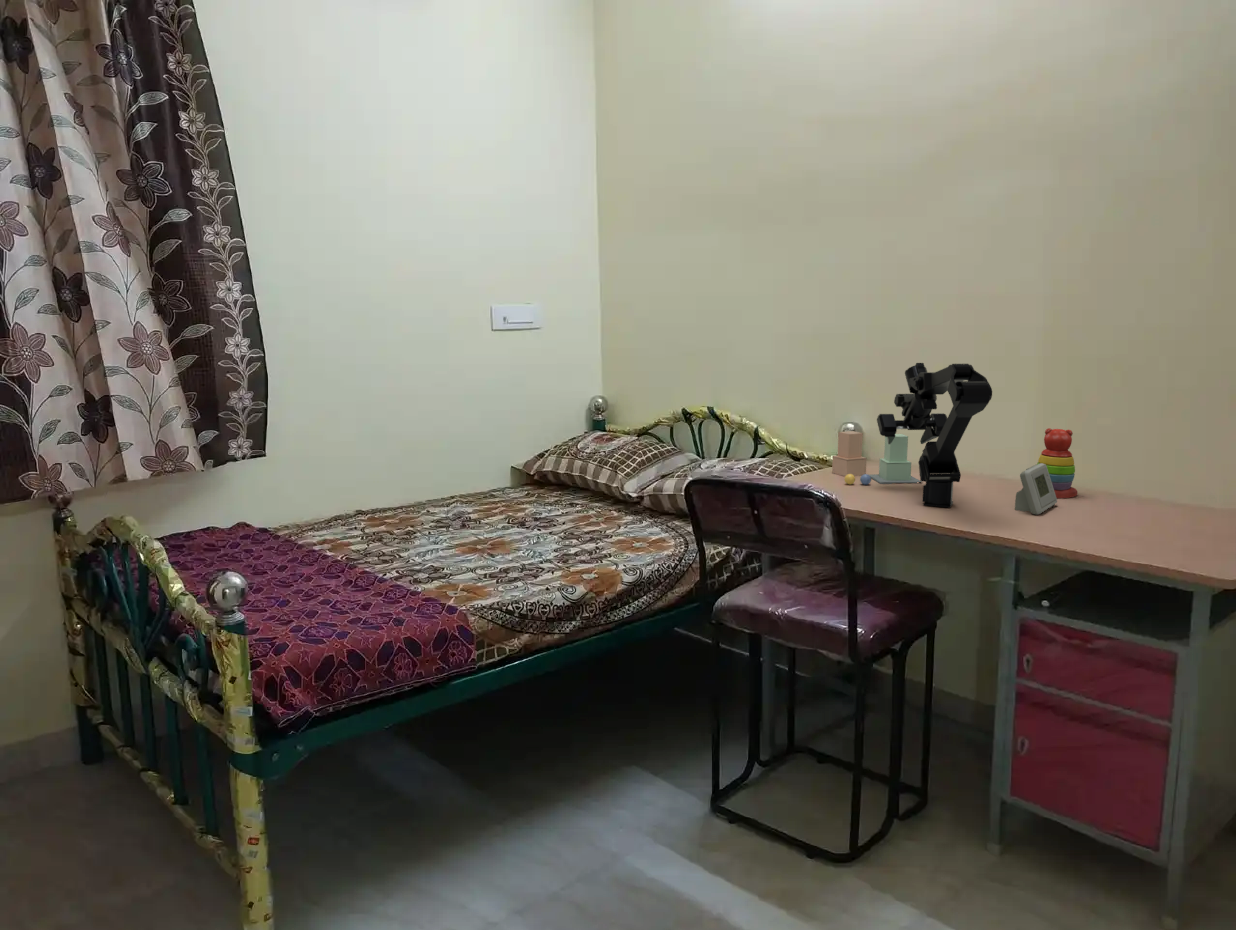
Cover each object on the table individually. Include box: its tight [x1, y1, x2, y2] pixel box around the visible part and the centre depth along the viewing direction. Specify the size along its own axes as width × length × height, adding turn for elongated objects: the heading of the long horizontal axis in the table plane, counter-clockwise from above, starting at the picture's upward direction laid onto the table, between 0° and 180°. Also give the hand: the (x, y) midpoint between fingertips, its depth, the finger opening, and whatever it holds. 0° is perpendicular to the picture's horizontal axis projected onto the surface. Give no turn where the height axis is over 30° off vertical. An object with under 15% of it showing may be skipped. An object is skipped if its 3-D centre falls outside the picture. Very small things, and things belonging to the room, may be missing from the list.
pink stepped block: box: [831, 430, 868, 477], centre depth 279 cm, size 7×7×12 cm
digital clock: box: [1014, 463, 1058, 515], centre depth 231 cm, size 16×9×11 cm, turn 130°
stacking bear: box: [1037, 428, 1078, 499], centre depth 247 cm, size 11×10×18 cm
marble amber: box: [843, 474, 856, 485], centre depth 263 cm, size 3×3×3 cm
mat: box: [868, 473, 923, 485], centre depth 270 cm, size 12×12×1 cm
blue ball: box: [859, 473, 872, 486], centre depth 263 cm, size 3×3×3 cm
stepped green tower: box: [878, 433, 912, 480], centre depth 269 cm, size 7×7×12 cm
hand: (904, 442), depth 261 cm, fingers open, 9 cm apart
